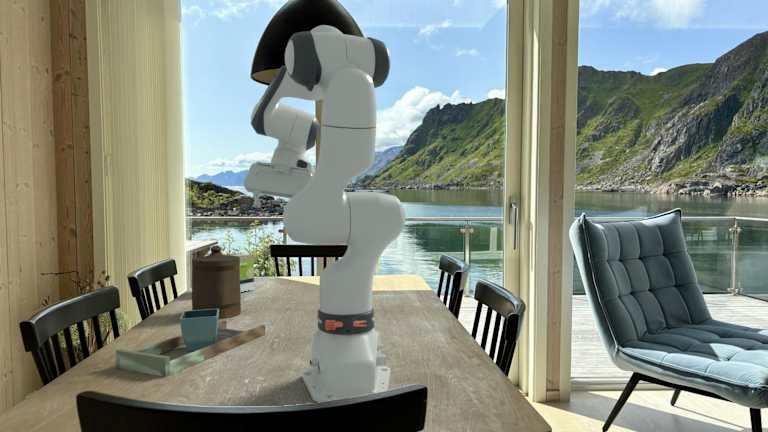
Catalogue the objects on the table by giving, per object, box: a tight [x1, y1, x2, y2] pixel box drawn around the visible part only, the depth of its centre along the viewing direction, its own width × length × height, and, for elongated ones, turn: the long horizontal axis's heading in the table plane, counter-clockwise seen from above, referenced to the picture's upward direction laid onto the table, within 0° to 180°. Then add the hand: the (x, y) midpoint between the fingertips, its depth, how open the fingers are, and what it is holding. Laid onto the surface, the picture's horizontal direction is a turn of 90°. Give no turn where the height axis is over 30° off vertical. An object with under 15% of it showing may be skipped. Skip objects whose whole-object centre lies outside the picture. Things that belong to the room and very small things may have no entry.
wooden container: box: [191, 245, 242, 319], centre depth 169 cm, size 15×15×22 cm
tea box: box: [223, 252, 255, 293], centre depth 205 cm, size 15×10×15 cm, turn 150°
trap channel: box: [115, 320, 266, 378], centre depth 131 cm, size 36×14×4 cm, turn 157°
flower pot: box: [179, 309, 219, 353], centre depth 132 cm, size 9×9×9 cm
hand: (272, 209), depth 146 cm, fingers open, 8 cm apart
